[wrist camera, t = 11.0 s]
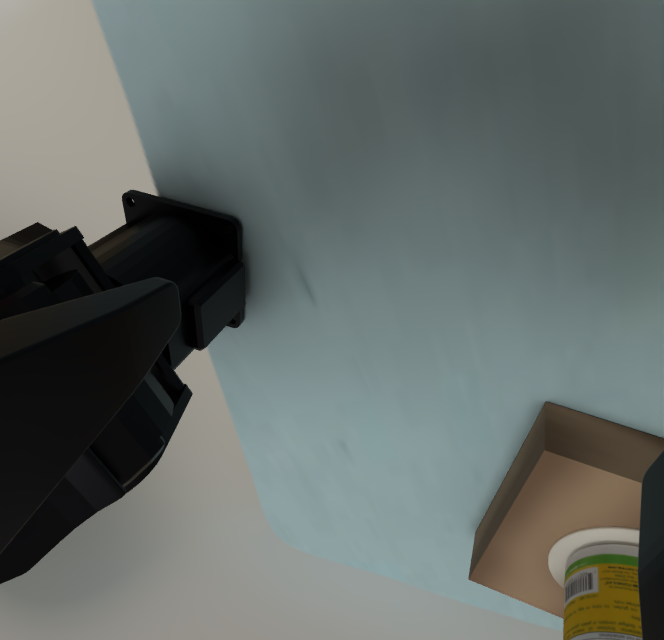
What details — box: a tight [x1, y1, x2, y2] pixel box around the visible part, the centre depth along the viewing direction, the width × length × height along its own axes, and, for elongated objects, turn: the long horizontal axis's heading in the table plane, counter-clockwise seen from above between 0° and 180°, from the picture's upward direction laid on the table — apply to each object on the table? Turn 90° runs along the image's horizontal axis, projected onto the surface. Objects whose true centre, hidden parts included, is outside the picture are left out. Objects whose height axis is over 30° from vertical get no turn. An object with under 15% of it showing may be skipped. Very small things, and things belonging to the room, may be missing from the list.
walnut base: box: [469, 402, 664, 619], centre depth 24 cm, size 12×12×3 cm
